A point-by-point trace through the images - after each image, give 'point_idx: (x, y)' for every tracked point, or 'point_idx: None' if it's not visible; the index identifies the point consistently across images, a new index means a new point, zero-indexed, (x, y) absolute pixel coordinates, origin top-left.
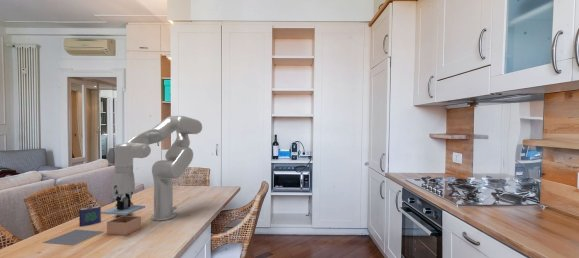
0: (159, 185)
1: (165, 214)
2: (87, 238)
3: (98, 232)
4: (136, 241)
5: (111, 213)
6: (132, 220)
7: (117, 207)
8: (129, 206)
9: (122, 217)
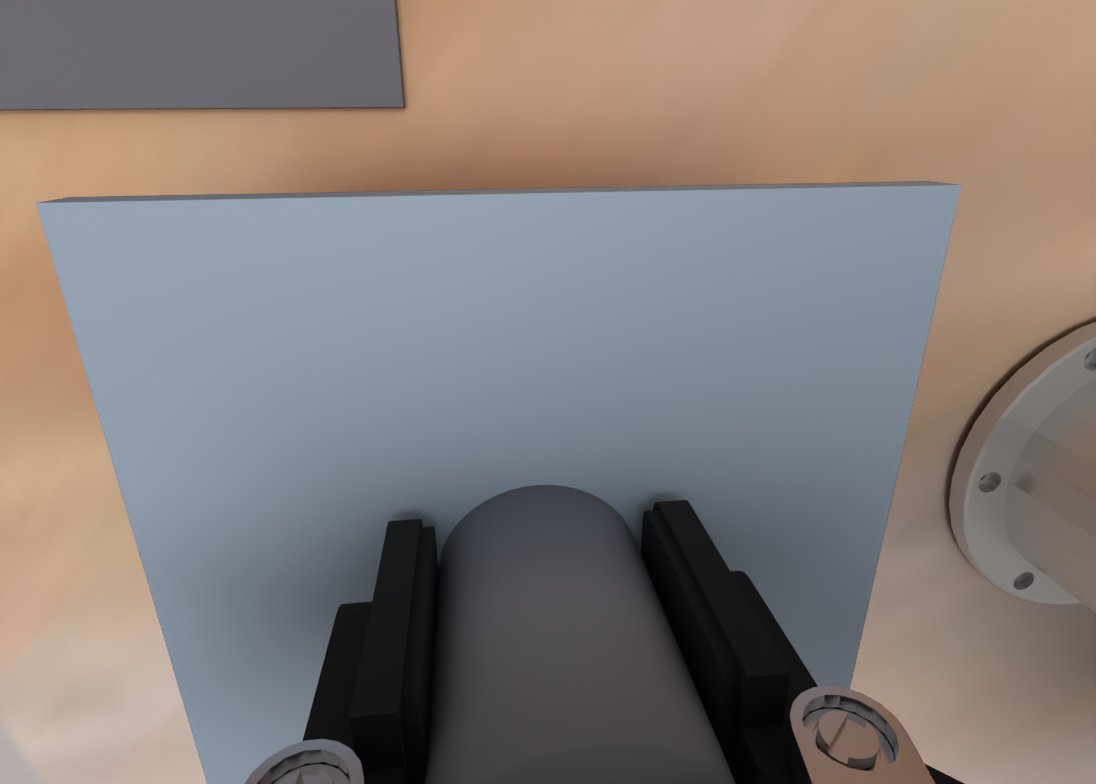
0: None
1: (1053, 579)
2: (65, 79)
3: (340, 22)
4: None
5: (154, 548)
6: None
7: (339, 611)
8: None
9: None
